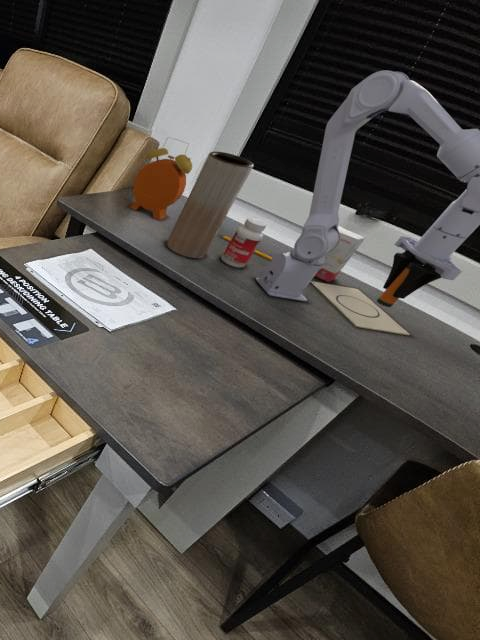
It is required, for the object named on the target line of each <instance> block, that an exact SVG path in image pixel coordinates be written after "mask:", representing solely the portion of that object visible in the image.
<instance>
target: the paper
mask: <svg viewBox="0 0 480 640" xmlns="http://www.w3.org/2000/svg"><path fill="white" fill-rule="evenodd" d="M310 284H312V286H314V288H316V289H317V290H318V291H319V292H320V294H321V295H323V296H324V297H325V298H326V299H327V300H328V302H330V303H331V304H332V305H333V306H334V307H335V308H336V309H337V310H338V311H339V312H340V313H341V314H342V315H343V316H344V317H345V318H346V319H347V320H348V321H349V322H350V323H351V324H352V325H353V326H354V327H355V328H361V329H366V330H373V331H379V332H384V333H391V334H395V335H396V334H397V335H402V336H403V335H404V336H411V334H410V333H409V332H408V331H407V330H406V329H404V328H403V327H402V326H401V325H400V324H399V323H397V321H395V320H394V319H393V318H392V317H390V315H389V314H387V313H386V312H385V311H383V309H382V308H380V307H379V306H378V305H377V304H376V303H375V302H374V301H372V300H371V299H370V298H369V297H368V296H367V295H366V294H365V293H363V292H362V291H361V290H360V289H359V288H354V287H348V286H344V285H342V286H341V285H337V284H330V283H324V282H318V281H314V280H313V281H312V280H311V281H310Z"/></svg>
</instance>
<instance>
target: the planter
mask: <svg viewBox="0 0 480 640" xmlns="http://www.w3.org/2000/svg"><path fill="white" fill-rule="evenodd" d="M253 168H254V163H253V162H252V161H250V160H248V159H247V158H244V157H241V156H239V155H236V154H233V153H228V152H223V151H217V150H216V151H210V152H209V153H208V155H207V157H206V159H205V161H204V163H203V166H202V167H201V170H200V172H199V174H198V176H197V178H196V179H195V182H194V185H193V186H192V189H191V191H190V193H189V195H188V196H187V199H186V201H185V203H184V206H183V208H182V209H181V212H180V213H179V216H178V218H177V220H176V222H175V224H174V226H173V228H172V231H171V232H170V235H169V237H168V239H167V242H166V246H167V248H168V249H169V250H171V251H172V252H173V253H175V254H177V255H179V256H182V257H185V258H188V259H189V258H190V259H201V258H204V257H205V255H206V254H207V252H208V250H209V249H210V246H211V244H212V243H213V241H214V239H215V237H216V236H217V233H218V232H219V230H220V228H221V226H222V225H223V223H224V221H225V219H226V218H227V216H228V213H229V212H230V210H231V208H232V206H233V204H234V202H235V201H236V199H237V197H238V195H239V194H240V192H241V190H242V188H243V186H244V184H245V182H246V181H247V178H249V175H250V174H251V172H252V170H253Z"/></svg>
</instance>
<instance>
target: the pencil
mask: <svg viewBox="0 0 480 640" xmlns="http://www.w3.org/2000/svg"><path fill="white" fill-rule="evenodd" d="M222 239H223V240H225V241H228V242H230V241H231V239H232V237H229V236H226V235H223V236H222ZM253 254H256V255H258V256H260V257H262V258H264V259H267V260H269V261H270V260H271V259H272V258H273V257H272V256H270V255H267V254H265V253H263V252H261V251H258V250H256V249H255V251H254V253H253Z"/></svg>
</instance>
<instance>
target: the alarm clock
mask: <svg viewBox="0 0 480 640" xmlns="http://www.w3.org/2000/svg"><path fill="white" fill-rule="evenodd" d="M169 139H173V140H176V141H180V142H183V143H185V144H187V147H186V150H185V152H184V154H178V155H176V156H173V155H170V154H169V151H168V149H167V148H165V144H166V143H167V141H168V138H166V140H165V142H164V143H163V145H162V147H160V148H159V147H158V146H155V149H153V150H150V151H149V152H148V153H147V155H146V160H151V159H153V158H155V159H156V160H153V161H151V162H149V163H148V164H145V165H144V166H142V167H141V168H140V170H139V171H138V173H137V174H136V176H135V178H134V181H133V185H132V190H133V191H132V192H133V197H134V199H135V201H133V203H132V204H131V205H130V206H129V208H130V209H132V210H134V211H136V210H139V209H141V208H143V209H144V210H147V211H151V212H152V218H153V219H155V220H158V221H161V220H163V219H165V218H166V217H167V211H168V210H167V209H168V207H170V206H172V205H174V204H175V203H176V202H178V201H179V199H180V198H181V197H182V195H183V194H184V192H185V189H186V186H187V175H188V174H190V173H191V171H192V169H193V163H192V160H191V157H188V156H187V155H186V153H187V151H188V148H189V145H190V143H187V142H185V141H183V140H180V139H177V138H174V137H171V136H169ZM165 155H168V156H167V158H161V159H159V157H161V156H165Z"/></svg>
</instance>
